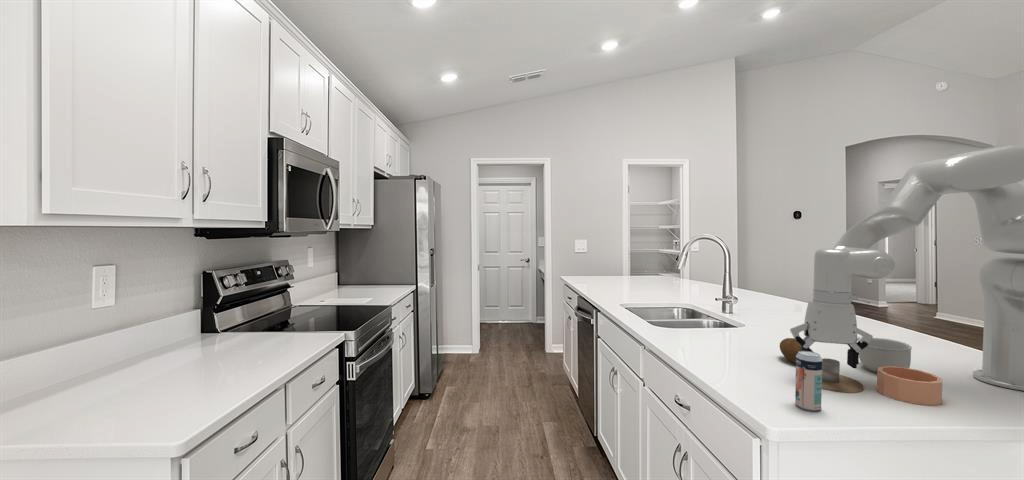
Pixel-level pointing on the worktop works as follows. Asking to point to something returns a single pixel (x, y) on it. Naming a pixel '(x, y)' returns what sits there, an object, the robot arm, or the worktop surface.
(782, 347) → the potato
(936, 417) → the worktop surface
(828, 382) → the lid
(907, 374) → the bowl
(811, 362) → the beer can
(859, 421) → the worktop surface
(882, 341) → the teacup
